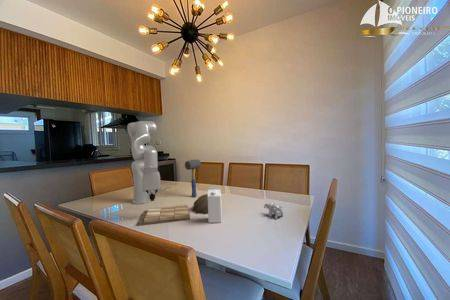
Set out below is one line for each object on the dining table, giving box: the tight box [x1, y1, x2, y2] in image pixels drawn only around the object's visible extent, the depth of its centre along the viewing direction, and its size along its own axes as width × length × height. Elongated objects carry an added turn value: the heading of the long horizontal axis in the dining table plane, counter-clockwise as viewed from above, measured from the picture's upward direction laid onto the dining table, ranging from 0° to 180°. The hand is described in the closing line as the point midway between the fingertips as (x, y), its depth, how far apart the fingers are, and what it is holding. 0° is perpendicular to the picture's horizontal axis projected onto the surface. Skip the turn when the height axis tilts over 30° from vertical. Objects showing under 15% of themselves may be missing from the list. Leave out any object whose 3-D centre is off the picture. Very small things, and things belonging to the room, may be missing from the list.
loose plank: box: [146, 206, 162, 216], centre depth 128 cm, size 13×8×2 cm, turn 13°
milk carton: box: [207, 186, 223, 224], centre depth 118 cm, size 7×7×19 cm
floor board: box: [137, 204, 191, 227], centre depth 127 cm, size 20×28×3 cm
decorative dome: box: [191, 193, 208, 215], centre depth 138 cm, size 19×20×10 cm
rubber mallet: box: [184, 159, 202, 198], centre depth 166 cm, size 12×8×30 cm, turn 143°
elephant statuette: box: [263, 201, 284, 220], centre depth 122 cm, size 9×12×8 cm
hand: (152, 200), depth 124 cm, fingers closed
